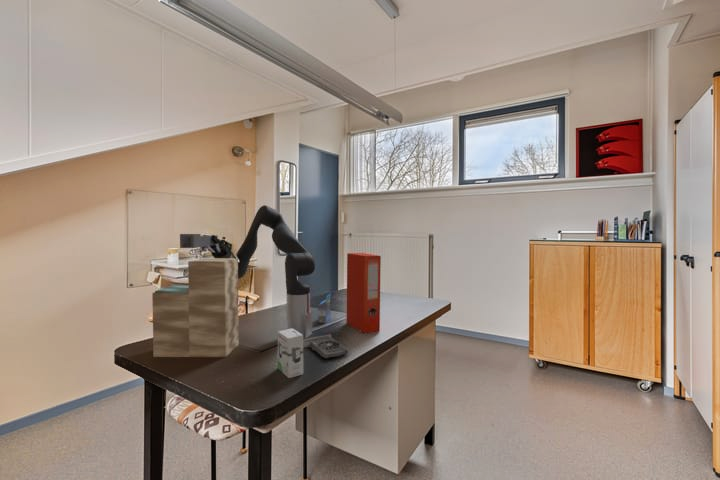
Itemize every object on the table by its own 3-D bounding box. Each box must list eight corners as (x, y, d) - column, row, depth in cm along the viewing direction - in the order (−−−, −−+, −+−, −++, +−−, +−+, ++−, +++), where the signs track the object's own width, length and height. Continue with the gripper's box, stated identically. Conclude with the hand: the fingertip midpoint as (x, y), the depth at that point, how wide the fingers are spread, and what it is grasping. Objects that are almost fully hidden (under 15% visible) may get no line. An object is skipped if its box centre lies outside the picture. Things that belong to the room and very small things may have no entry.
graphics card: (300, 338, 119) (330, 333, 125) (300, 349, 120) (330, 342, 125) (317, 354, 105) (351, 347, 110) (318, 366, 105) (351, 358, 111)
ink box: (276, 368, 101) (276, 330, 101) (291, 364, 104) (291, 327, 103) (288, 378, 94) (288, 337, 94) (304, 374, 97) (304, 334, 97)
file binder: (362, 321, 153) (362, 252, 152) (380, 331, 138) (380, 255, 137) (346, 323, 150) (346, 253, 149) (362, 334, 134) (363, 256, 133)
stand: (173, 344, 122) (172, 258, 121) (238, 344, 122) (237, 258, 121) (153, 356, 110) (151, 261, 109) (225, 357, 110) (224, 261, 109)
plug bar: (208, 244, 141) (208, 233, 141) (220, 244, 141) (219, 233, 141) (180, 247, 119) (179, 234, 119) (193, 248, 119) (193, 234, 119)
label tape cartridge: (322, 317, 159) (322, 292, 159) (330, 318, 159) (330, 292, 158) (318, 322, 150) (318, 296, 150) (326, 323, 150) (326, 296, 150)
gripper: (209, 247, 152) (193, 228, 137) (240, 247, 152) (226, 229, 137) (206, 262, 149) (188, 244, 133) (237, 262, 148) (223, 245, 133)
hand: (208, 237), depth 135 cm, fingers closed on plug bar, 3 cm apart
